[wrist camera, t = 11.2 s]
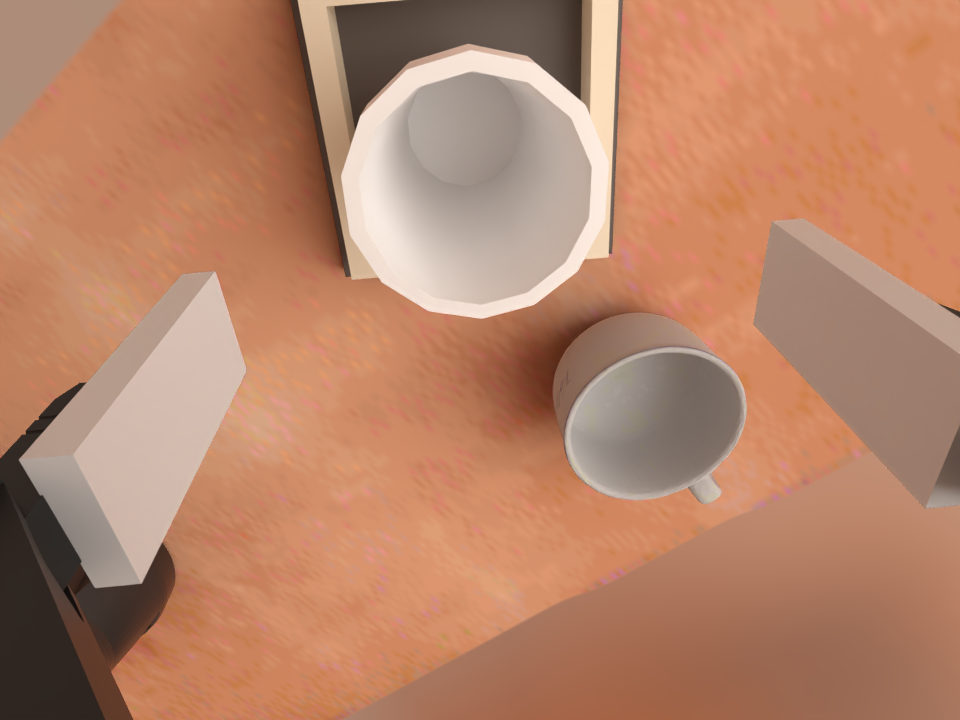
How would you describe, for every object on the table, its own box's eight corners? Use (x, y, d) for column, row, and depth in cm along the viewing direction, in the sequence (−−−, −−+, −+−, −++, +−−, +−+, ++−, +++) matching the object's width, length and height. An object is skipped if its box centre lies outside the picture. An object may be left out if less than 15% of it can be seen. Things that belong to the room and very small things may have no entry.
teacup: (518, 334, 41) (534, 404, 34) (674, 262, 39) (723, 320, 32) (595, 473, 48) (620, 554, 41) (730, 417, 46) (781, 493, 39)
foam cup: (413, -9, 30) (398, -4, 19) (582, 74, 32) (658, 123, 21) (352, 175, 34) (311, 269, 23) (505, 237, 36) (535, 349, 25)
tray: (348, 268, 38) (340, 294, 35) (287, -41, 30) (270, -43, 27) (607, 246, 38) (622, 269, 35) (619, -68, 30) (639, -74, 27)
